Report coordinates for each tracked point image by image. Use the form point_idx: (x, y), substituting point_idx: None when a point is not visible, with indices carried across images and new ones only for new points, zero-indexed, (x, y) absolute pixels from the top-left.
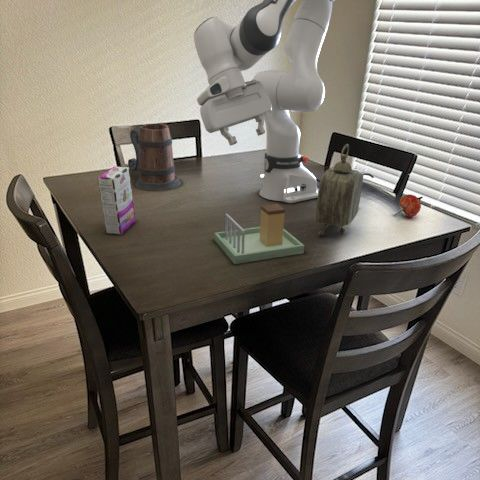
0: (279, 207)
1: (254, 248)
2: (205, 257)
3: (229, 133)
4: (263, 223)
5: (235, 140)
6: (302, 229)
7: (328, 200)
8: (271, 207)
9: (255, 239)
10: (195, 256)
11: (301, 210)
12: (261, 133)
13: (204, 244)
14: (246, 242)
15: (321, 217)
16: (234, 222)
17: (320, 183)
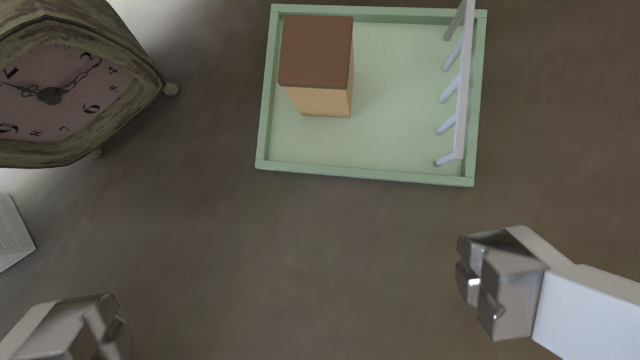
0: (292, 40)
1: (391, 71)
2: (537, 90)
3: (618, 298)
4: (350, 76)
5: (486, 241)
6: (191, 154)
7: (99, 12)
8: (319, 51)
9: (358, 126)
10: (563, 107)
11: (109, 286)
12: (99, 294)
13: (505, 173)
14: (393, 118)
15: (150, 59)
16: (468, 67)
17: (68, 17)
